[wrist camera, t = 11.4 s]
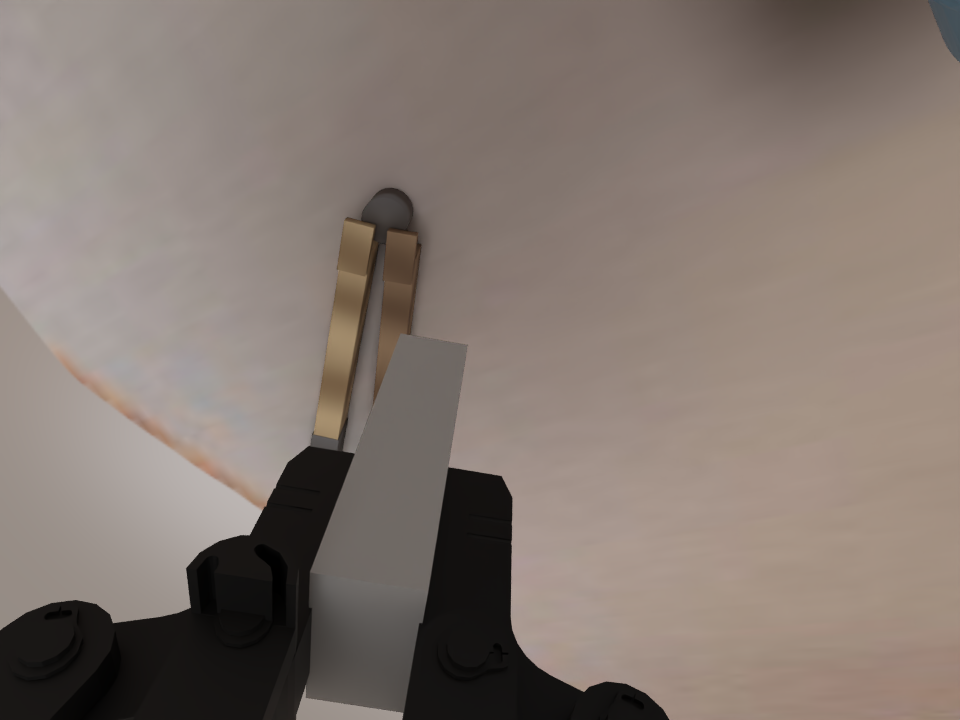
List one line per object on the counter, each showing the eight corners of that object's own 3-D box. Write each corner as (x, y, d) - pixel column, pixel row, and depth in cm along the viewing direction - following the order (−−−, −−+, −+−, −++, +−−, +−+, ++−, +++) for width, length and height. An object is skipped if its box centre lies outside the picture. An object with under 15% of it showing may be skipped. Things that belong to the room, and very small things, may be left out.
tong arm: (356, 204, 39) (342, 220, 36) (386, 212, 39) (375, 228, 36) (315, 460, 49) (301, 490, 46) (339, 465, 50) (327, 496, 46)
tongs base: (372, 184, 39) (359, 199, 35) (428, 194, 39) (421, 210, 35) (350, 466, 50) (339, 498, 47) (394, 473, 50) (386, 506, 47)
